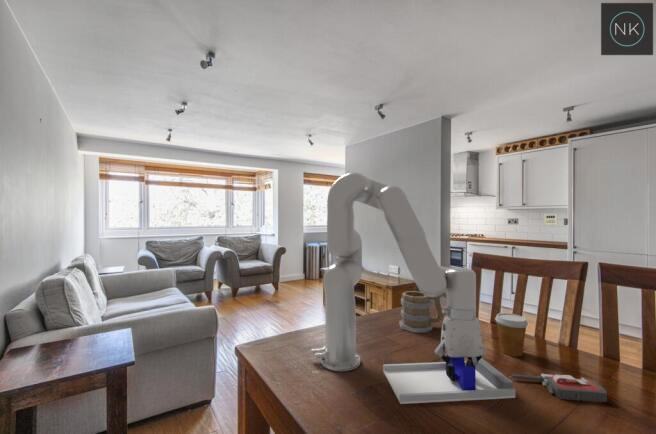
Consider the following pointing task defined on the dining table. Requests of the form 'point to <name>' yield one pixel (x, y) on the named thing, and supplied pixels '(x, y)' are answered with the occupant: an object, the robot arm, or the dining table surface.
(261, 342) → the dining table surface
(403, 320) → the tankard
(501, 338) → the disposable coffee cup
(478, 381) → the channel
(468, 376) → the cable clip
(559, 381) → the walkie-talkie
